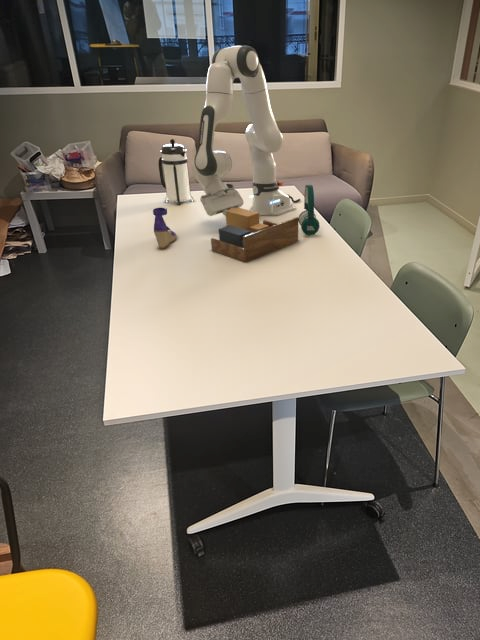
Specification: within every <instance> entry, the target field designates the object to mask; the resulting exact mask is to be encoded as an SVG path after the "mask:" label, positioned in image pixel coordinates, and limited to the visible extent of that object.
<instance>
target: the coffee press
mask: <svg viewBox="0 0 480 640" xmlns="http://www.w3.org/2000/svg"><path fill="white" fill-rule="evenodd" d="M169 142H170V143H168V144H165V145H163V146H162V147H161V149H160V154H161V156H159V159H158V173H159V178H160V183H161V185H162V187H163V188H164V189H165V194H166V197H165V199H164V202H165V203H168V202H169V201H172V202H176V203H177V206H181V202H183V201H184V202H185V201H188V200H189V201H190V202H195V201H194V200H195V199H194V197H193V196H192V192H191V183H190V182H191V181H190V173H189V165H188V158H187V152H188V151H187V148H186V147H185V146H184V145H183V144H181V143H176V140H175V139H174V138H171V139H170V140H169ZM166 199H168V200H166Z"/></svg>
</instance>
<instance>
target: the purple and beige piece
mask: <svg viewBox="0 0 480 640" xmlns="http://www.w3.org/2000/svg"><path fill="white" fill-rule="evenodd" d="M152 214H153V215H154V221H153V222H154V223H153V233H154V236H155V239H156V241H157V244H158V248H159V249H160V250H164V249H166V248H168V245H169V244H171V243H172V242H175V241H176V240H177V234H176V232H175V231H173V230H172V229H171V228H170V227H169V226H168V225H167V224H166V221H165V219H164V217H163V216H166V215H168V208H167V207H166V208H165V207H156V208H153V209H152Z"/></svg>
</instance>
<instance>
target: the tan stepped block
mask: <svg viewBox="0 0 480 640" xmlns="http://www.w3.org/2000/svg"><path fill="white" fill-rule="evenodd" d="M225 224H226V226H229V225H231V226H234V227H238V228H241V229H244V230H248V231H251V232H252V233H254V232H257V231H259V230H262V229H265V228H268V227H269V225H265V224H263V223H260V215H259V213H258V212H254V211H251V209H250V210H249V209H245V208H242V207H240V208H238V207H236V208H233V209H230V210H227V211H226V216H225Z"/></svg>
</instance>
